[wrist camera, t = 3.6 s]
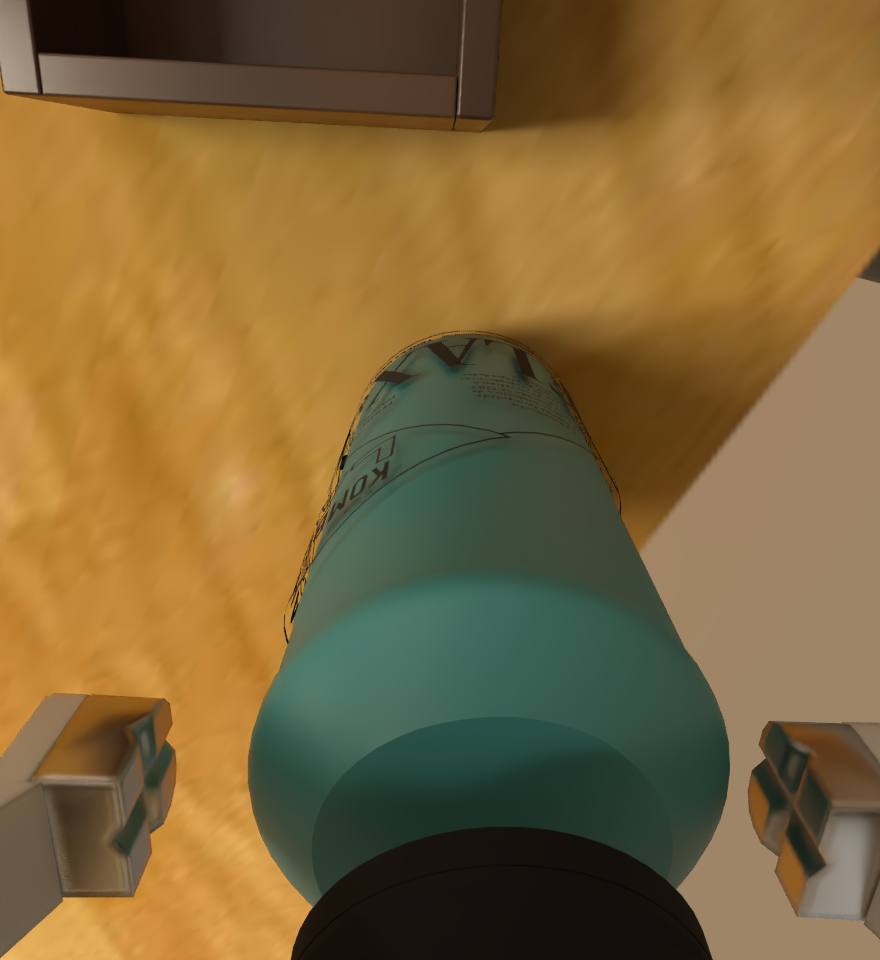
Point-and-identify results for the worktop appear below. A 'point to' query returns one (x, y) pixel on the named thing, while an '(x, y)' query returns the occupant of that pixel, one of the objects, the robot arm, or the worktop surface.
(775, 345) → the worktop surface
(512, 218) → the worktop surface
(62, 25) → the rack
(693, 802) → the beverage bottle
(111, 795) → the robot arm
